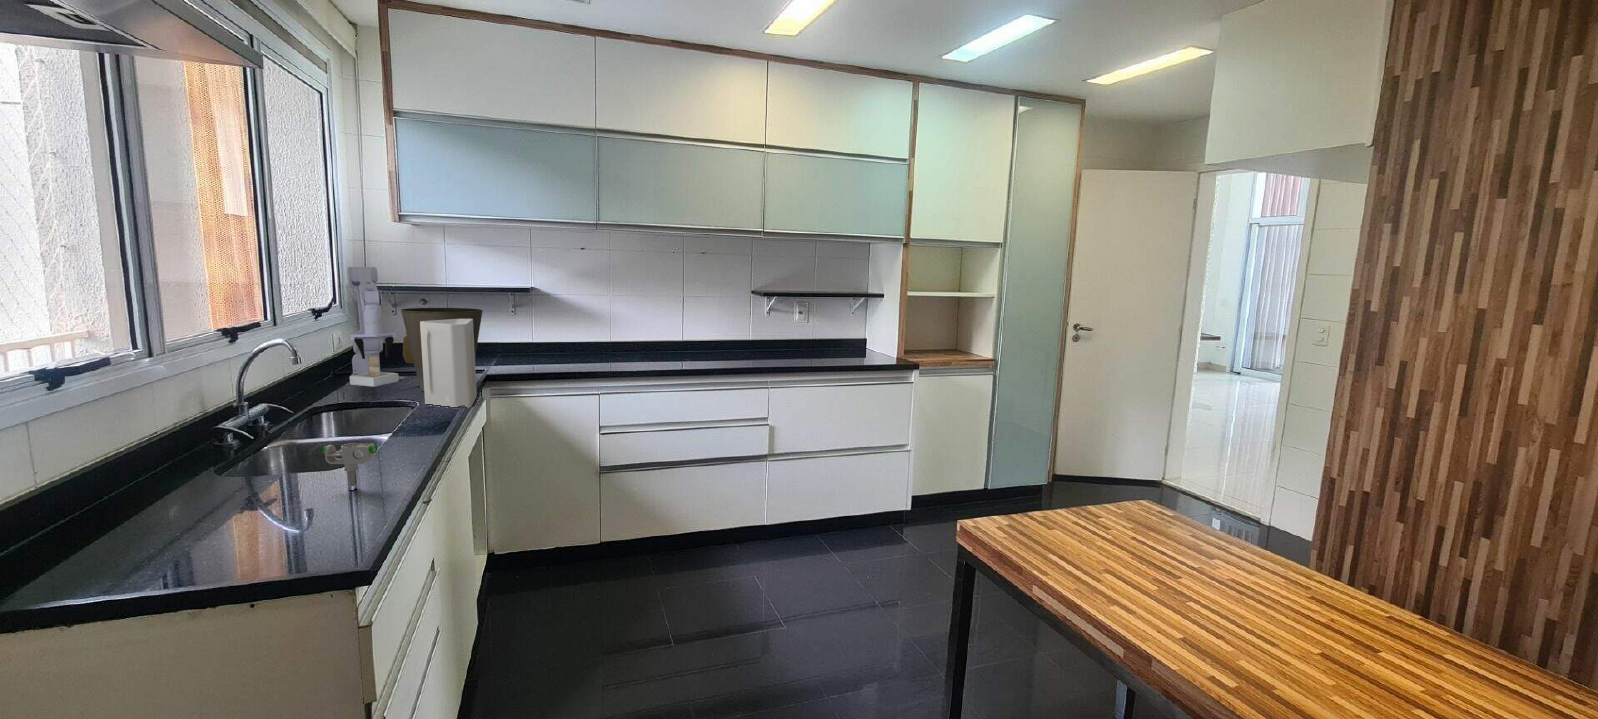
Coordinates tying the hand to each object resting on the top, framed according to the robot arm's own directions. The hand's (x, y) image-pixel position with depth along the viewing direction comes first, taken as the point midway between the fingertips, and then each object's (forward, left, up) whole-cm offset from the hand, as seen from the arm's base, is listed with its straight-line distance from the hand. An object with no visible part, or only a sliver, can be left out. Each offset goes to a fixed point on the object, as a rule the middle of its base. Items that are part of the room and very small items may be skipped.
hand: (375, 357), depth 248 cm
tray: (0, -1, -10) cm, 10 cm away
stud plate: (-2, +9, -10) cm, 14 cm away
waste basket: (+29, +3, -11) cm, 31 cm away
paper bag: (+47, -16, -11) cm, 51 cm away
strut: (0, -1, -9) cm, 9 cm away
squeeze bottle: (-27, +44, -10) cm, 53 cm away
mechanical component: (+90, -91, -10) cm, 129 cm away
